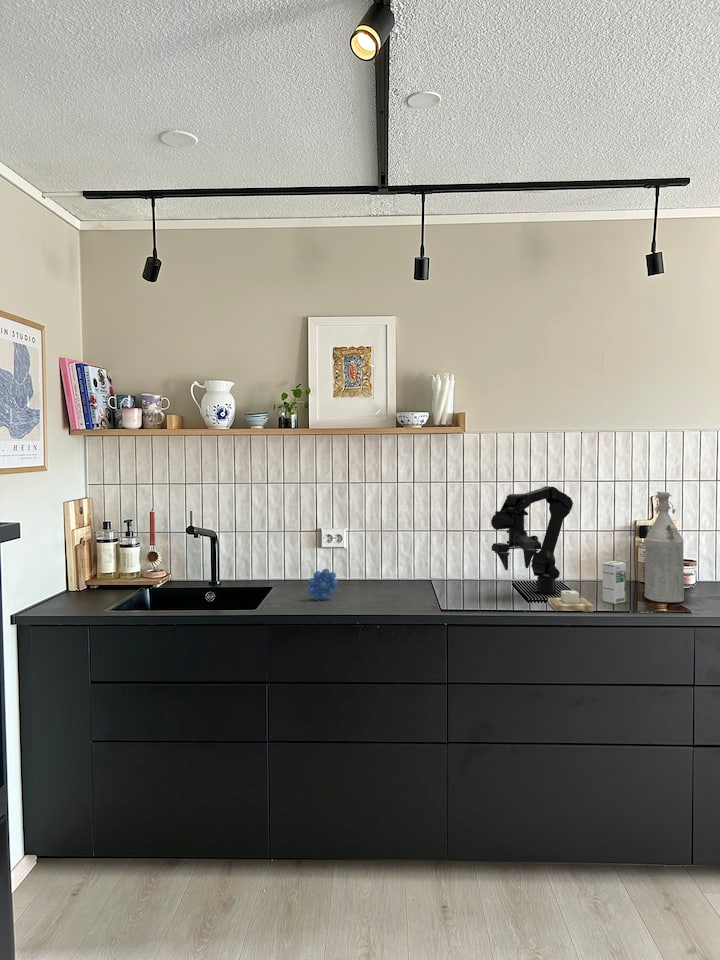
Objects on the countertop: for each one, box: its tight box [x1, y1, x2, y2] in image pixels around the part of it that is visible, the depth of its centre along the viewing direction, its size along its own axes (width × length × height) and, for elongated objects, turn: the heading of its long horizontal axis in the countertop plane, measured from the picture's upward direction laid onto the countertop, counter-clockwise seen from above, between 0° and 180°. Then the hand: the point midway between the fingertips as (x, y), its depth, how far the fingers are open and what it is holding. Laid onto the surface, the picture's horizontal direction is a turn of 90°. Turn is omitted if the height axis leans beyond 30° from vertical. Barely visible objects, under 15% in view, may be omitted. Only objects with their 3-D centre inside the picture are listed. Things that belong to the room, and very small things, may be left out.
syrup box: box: [601, 560, 627, 605], centre depth 230 cm, size 6×6×14 cm
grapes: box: [307, 568, 339, 601], centre depth 241 cm, size 12×7×12 cm, turn 96°
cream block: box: [560, 590, 580, 604], centre depth 222 cm, size 5×5×6 cm
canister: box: [644, 491, 685, 603], centre depth 232 cm, size 13×17×40 cm
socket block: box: [547, 597, 595, 613], centre depth 222 cm, size 12×12×2 cm
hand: (516, 569), depth 238 cm, fingers open, 9 cm apart
